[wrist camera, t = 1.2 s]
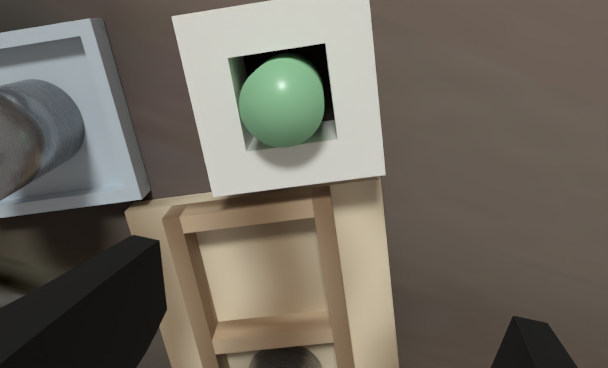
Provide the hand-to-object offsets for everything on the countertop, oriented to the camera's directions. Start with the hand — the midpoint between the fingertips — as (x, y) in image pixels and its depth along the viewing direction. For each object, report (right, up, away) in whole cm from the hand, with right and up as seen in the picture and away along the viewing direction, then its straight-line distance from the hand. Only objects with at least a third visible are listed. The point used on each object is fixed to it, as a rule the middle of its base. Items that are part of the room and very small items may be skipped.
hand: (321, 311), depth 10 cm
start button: (-1, +7, +10) cm, 12 cm away
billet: (-12, +5, +12) cm, 18 cm away
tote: (-12, +6, +12) cm, 18 cm away
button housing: (-1, +7, +11) cm, 13 cm away
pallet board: (-2, -4, +15) cm, 16 cm away
